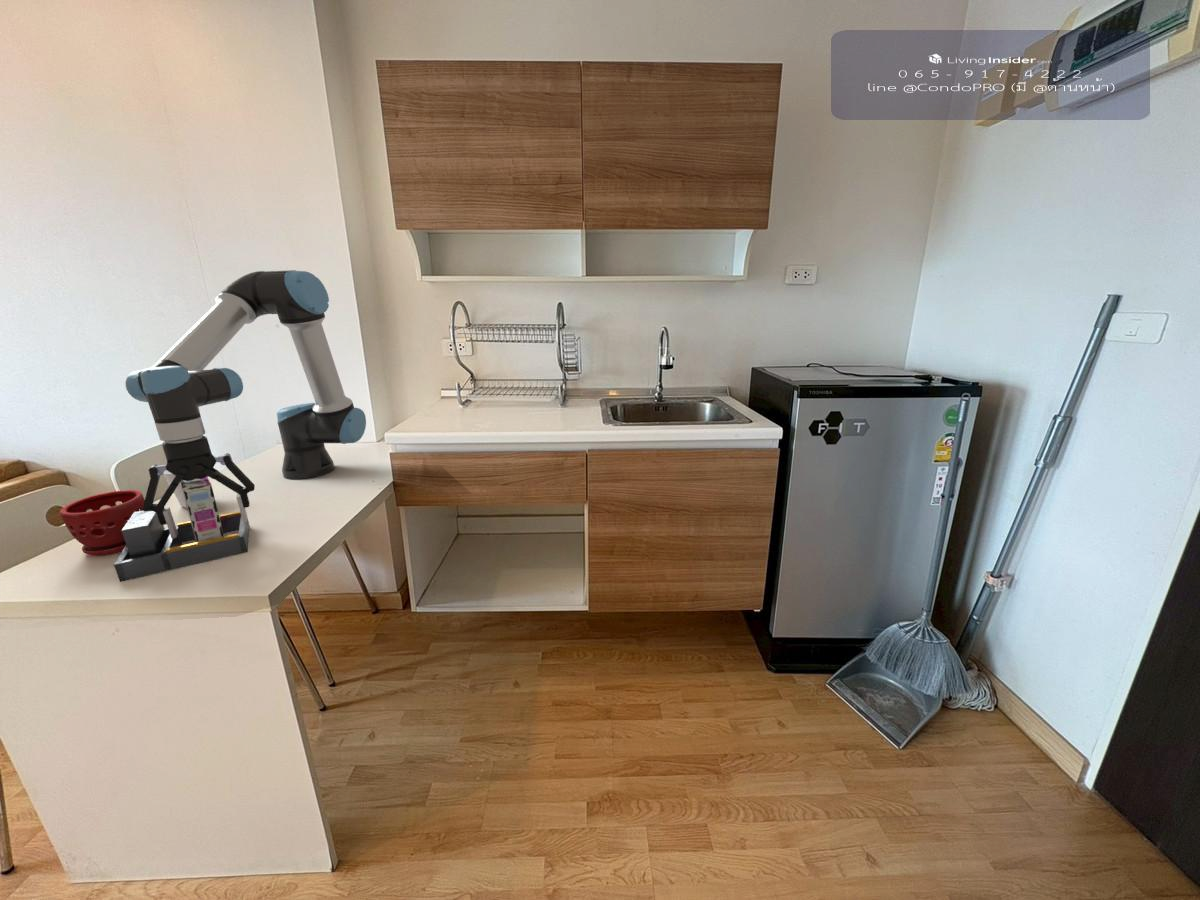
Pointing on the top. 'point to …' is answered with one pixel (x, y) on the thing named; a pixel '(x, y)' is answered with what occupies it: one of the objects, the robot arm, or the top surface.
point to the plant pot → (102, 520)
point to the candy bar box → (202, 509)
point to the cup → (178, 490)
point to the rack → (174, 545)
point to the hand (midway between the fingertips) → (211, 528)
